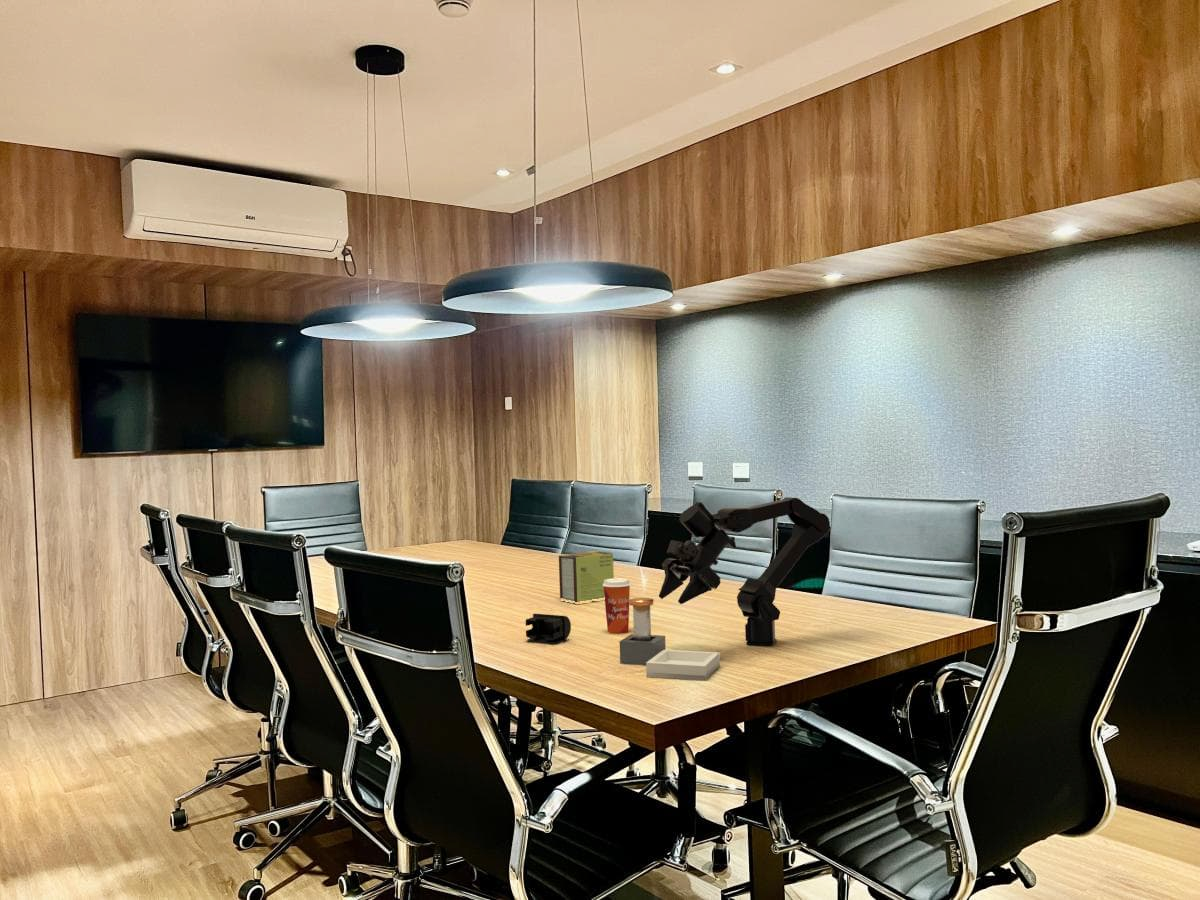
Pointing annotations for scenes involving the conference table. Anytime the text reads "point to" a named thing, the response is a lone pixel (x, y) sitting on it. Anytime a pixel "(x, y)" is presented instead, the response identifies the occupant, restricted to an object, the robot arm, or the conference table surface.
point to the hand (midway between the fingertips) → (669, 600)
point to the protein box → (584, 575)
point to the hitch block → (640, 649)
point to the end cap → (548, 629)
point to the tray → (683, 664)
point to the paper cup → (617, 604)
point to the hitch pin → (641, 618)
